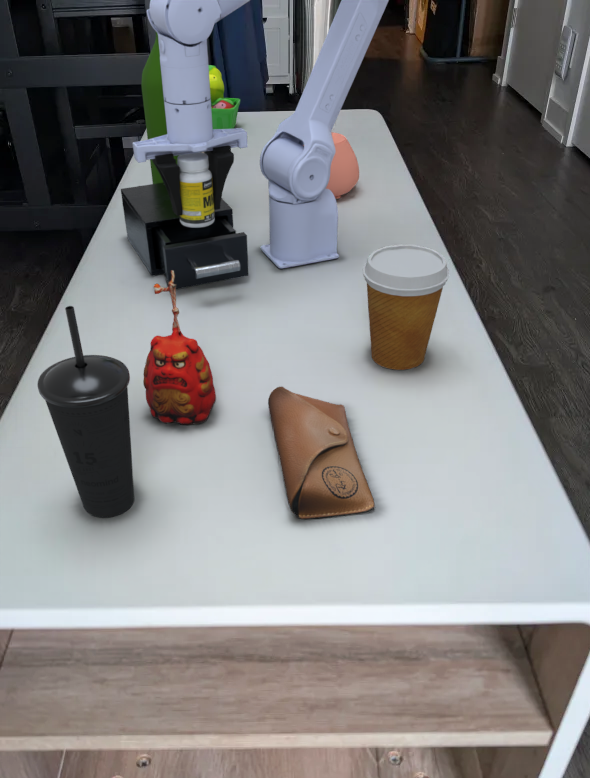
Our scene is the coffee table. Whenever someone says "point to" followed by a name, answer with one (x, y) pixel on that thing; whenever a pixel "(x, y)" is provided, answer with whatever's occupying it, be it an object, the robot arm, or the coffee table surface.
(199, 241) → the drawer
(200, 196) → the supplement bottle
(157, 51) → the wine bottle
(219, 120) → the fruit basket
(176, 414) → the red clay folk toy
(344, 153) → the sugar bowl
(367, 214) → the coffee table surface
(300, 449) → the sunglasses case
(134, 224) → the black drawer box
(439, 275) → the disposable coffee cup
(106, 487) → the drinking cup
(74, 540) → the coffee table surface
